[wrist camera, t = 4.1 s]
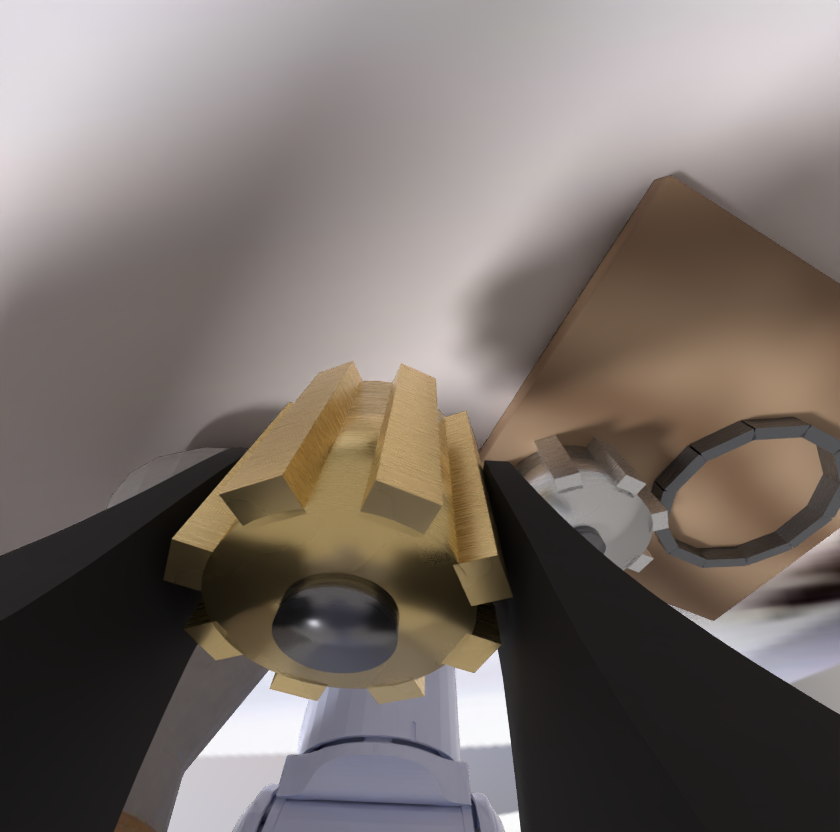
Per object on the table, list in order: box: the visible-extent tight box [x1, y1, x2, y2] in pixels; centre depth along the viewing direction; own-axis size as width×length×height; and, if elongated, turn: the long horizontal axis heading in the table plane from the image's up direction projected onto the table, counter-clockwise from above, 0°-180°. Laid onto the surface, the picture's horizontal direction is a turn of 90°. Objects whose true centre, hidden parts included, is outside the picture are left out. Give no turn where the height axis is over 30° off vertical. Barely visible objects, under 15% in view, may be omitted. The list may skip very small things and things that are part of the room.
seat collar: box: [651, 417, 840, 568], centre depth 18 cm, size 9×9×1 cm
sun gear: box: [515, 435, 669, 572], centre depth 17 cm, size 7×7×4 cm
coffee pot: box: [106, 448, 269, 832], centre depth 16 cm, size 21×12×15 cm, turn 156°
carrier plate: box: [479, 176, 840, 621], centre depth 18 cm, size 17×19×1 cm
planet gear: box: [163, 361, 513, 704], centre depth 8 cm, size 6×6×5 cm
